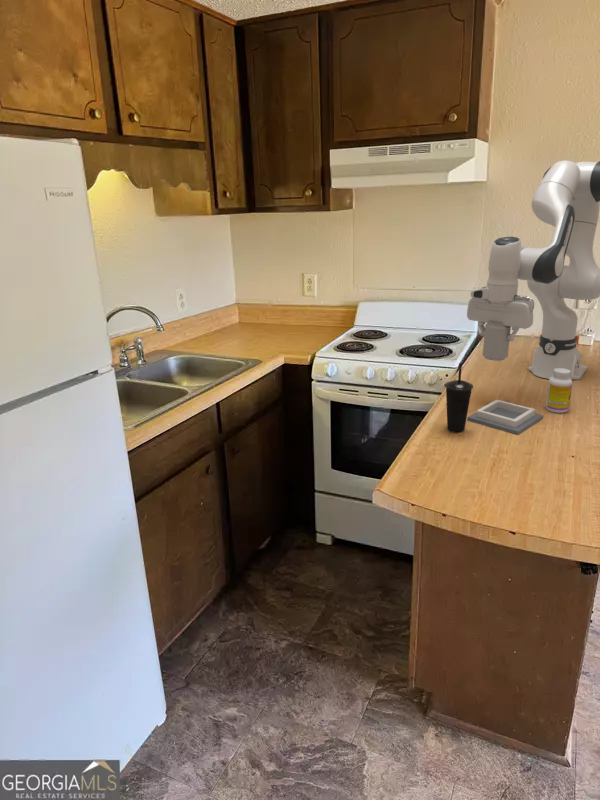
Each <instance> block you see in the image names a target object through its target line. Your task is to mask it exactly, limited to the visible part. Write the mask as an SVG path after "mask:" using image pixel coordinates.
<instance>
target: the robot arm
mask: <svg viewBox="0 0 600 800" xmlns="http://www.w3.org/2000/svg"><path fill="white" fill-rule="evenodd" d="M531 209H532V212H533V213H534V214H533V215H534V216H535V217H536V218H538V219H539V220H540V221H542V222H543V223H546V224H548V225H550V226H552V227H554V230H553V233H552V237H551V240H550V243H549V245H548V246H546V247H528V246H523V245H522V244H521V243H522V242H521V239H520V238H519V237H517V236H506V237H505V236H504V237H499V238H497V239H495V240H494V241H493V242H492V245H491V249H490V254H489V259H488V267H487V269H488V274H489V275H488V279H487V281H486V286H483V287H481V288H477V289H474V290H471V291H470V297H471V298H470V299H469V301H468V305H467V310H466V317H467V319H468V320H469V321H475V322H477V326H478V328H479V330H480V336H481V337H484V335H485V325H486V324H487V323H488V321H490V322H494V323H503V325H504V326H511V331H512V332H510V334H509V335H507V340H508V341H509V342H513V341H515V337H516V335H517V333H518V332H519V330H520V329H524V330H525V329H528V328H531V327H532V326H533V324H534V309H535V301H534V299H532V298H531V297H530V296H527V295H525V296H523V295H518V287H519V280H520V281H526V282H527V283H526V284H527V287H528V290H529V291H530V292H531V293H532V294H533V295H534V296H535V297H536V300H538V302H539V304H540V307H541V310H542V327H541V328H542V329H541V334H540V335H539V341H538V345H539V346H538V347H536V348H535V349H534V352H533V358H532V362H531V365H528V367H527V370H528V371H531V373H532V374H533V375H535V376H536V377H538V378H544V379H548V380H549V379H550V378H551V377H553V376H554V374H553V372H554V369H556V368H564V369H568V370H570V376H569V378H570V379H571V380H581V378H582V376H583V375H584V374H585V372H586V371H587V369H588V366H587V365H585V364H582V353H581V352H580V351H579V350H578V348H577V343H578V341H579V339H580V337H579V335H576V334H577V327H578V321H579V318H578V315H577V313H576V312H575V311H574V310H573V309H572V308H570V307H568V306H567V304H566V302H565V299H569V300H577V301H578V300H579V301H587V300H590V301H591V300H596V299H598V298H600V267H599V266H598V264H597V262H596V260H595V257H594V253H593V251H594V250H593V249H594V248H593V247H594V241H595V235H596V230H597V225H598V221H599V216H600V160H599V161H578V162H574V161H571V160H568V159H567V160H565V159H564V160H559V161H557V162H555V163H554V164H553V165H552V166H550V167H549V168H548V169H546V171H545V172H544V174H543V176H542V179H541V181H540V182H539V185H538V186H537V188H536V189H535V191H534V194H533V195H532V198H531ZM566 256H567V257H568V259H569V264H568V265H565V259H566Z"/></svg>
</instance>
